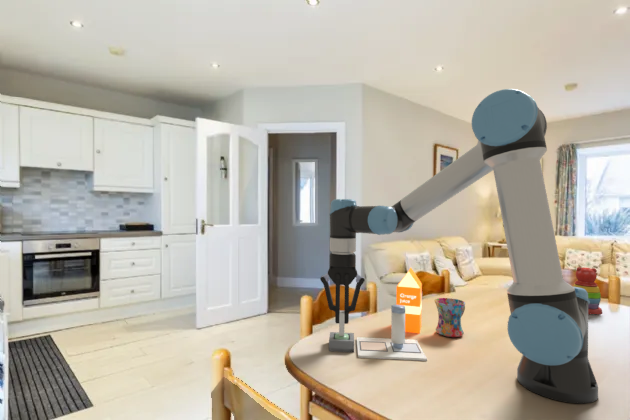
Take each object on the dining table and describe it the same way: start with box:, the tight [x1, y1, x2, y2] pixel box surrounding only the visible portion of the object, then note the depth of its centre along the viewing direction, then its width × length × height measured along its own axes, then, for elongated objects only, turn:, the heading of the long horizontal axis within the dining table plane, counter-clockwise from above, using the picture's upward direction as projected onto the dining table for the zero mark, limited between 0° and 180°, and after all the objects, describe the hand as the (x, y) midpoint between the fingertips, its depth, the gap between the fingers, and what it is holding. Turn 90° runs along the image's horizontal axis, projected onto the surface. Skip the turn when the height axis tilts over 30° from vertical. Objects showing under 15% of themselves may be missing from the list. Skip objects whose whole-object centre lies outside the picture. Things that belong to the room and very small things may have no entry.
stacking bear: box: [572, 266, 603, 315], centre depth 144 cm, size 11×10×18 cm
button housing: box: [328, 331, 355, 353], centre depth 103 cm, size 7×7×3 cm
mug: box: [434, 297, 466, 338], centre depth 116 cm, size 12×9×11 cm
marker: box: [390, 304, 406, 349], centre depth 102 cm, size 4×4×12 cm
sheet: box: [356, 336, 428, 362], centre depth 102 cm, size 14×18×1 cm
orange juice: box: [395, 266, 423, 334], centre depth 121 cm, size 8×9×20 cm
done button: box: [335, 332, 349, 340], centre depth 103 cm, size 4×4×2 cm
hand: (341, 334), depth 103 cm, fingers closed
